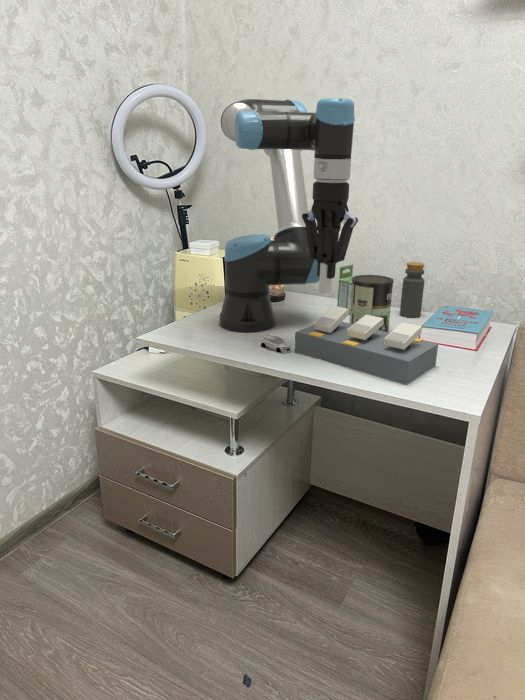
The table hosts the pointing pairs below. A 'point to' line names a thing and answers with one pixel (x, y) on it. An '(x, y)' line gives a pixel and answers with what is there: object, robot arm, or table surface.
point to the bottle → (412, 290)
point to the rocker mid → (365, 327)
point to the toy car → (275, 344)
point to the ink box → (345, 288)
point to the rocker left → (331, 319)
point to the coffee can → (371, 298)
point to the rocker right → (403, 335)
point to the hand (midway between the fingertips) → (325, 291)
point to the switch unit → (368, 353)
